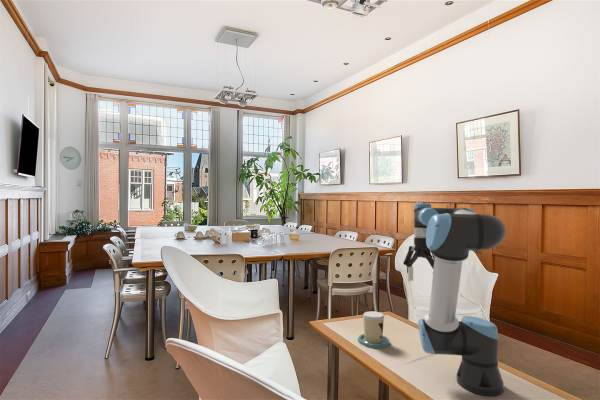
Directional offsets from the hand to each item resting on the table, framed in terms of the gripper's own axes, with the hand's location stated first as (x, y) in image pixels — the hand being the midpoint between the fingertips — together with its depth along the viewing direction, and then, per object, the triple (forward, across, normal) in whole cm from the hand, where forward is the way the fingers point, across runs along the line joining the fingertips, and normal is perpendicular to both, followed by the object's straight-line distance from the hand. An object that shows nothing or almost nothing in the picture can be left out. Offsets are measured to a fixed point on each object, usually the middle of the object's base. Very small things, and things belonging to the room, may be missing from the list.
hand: (422, 283), depth 165 cm
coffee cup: (+26, +12, +19) cm, 34 cm away
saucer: (+27, +12, +19) cm, 35 cm away
